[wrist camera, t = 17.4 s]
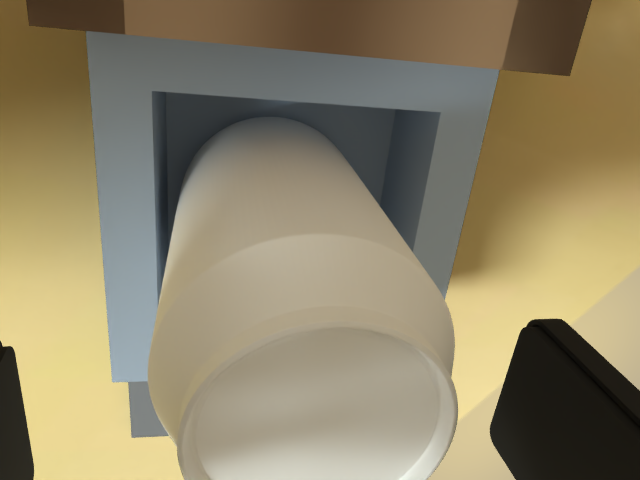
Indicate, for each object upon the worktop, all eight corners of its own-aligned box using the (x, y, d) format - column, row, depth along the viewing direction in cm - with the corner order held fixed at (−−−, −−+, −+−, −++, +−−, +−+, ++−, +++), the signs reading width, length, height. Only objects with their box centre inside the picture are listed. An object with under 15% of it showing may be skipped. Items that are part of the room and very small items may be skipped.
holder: (134, 298, 22) (112, 382, 17) (120, 11, 17) (85, 22, 13) (387, 298, 24) (427, 373, 20) (434, 43, 20) (501, 62, 15)
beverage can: (304, 287, 22) (385, 579, 11) (156, 234, 20) (82, 531, 9) (378, 153, 20) (562, 353, 9) (221, 78, 18) (226, 225, 7)
